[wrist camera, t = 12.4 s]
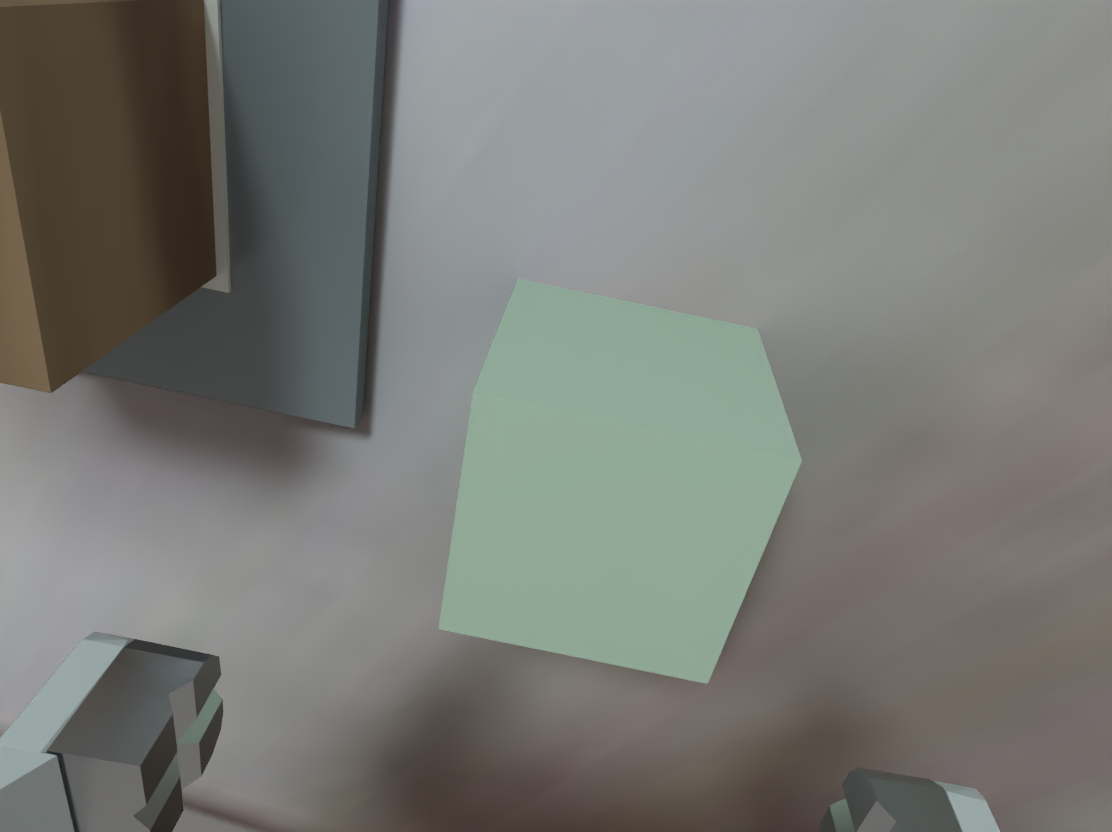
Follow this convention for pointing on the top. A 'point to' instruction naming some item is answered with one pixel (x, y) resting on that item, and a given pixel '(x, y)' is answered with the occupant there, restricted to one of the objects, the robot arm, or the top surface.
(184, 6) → the walnut block
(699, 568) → the green block
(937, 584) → the top surface
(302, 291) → the coaster
